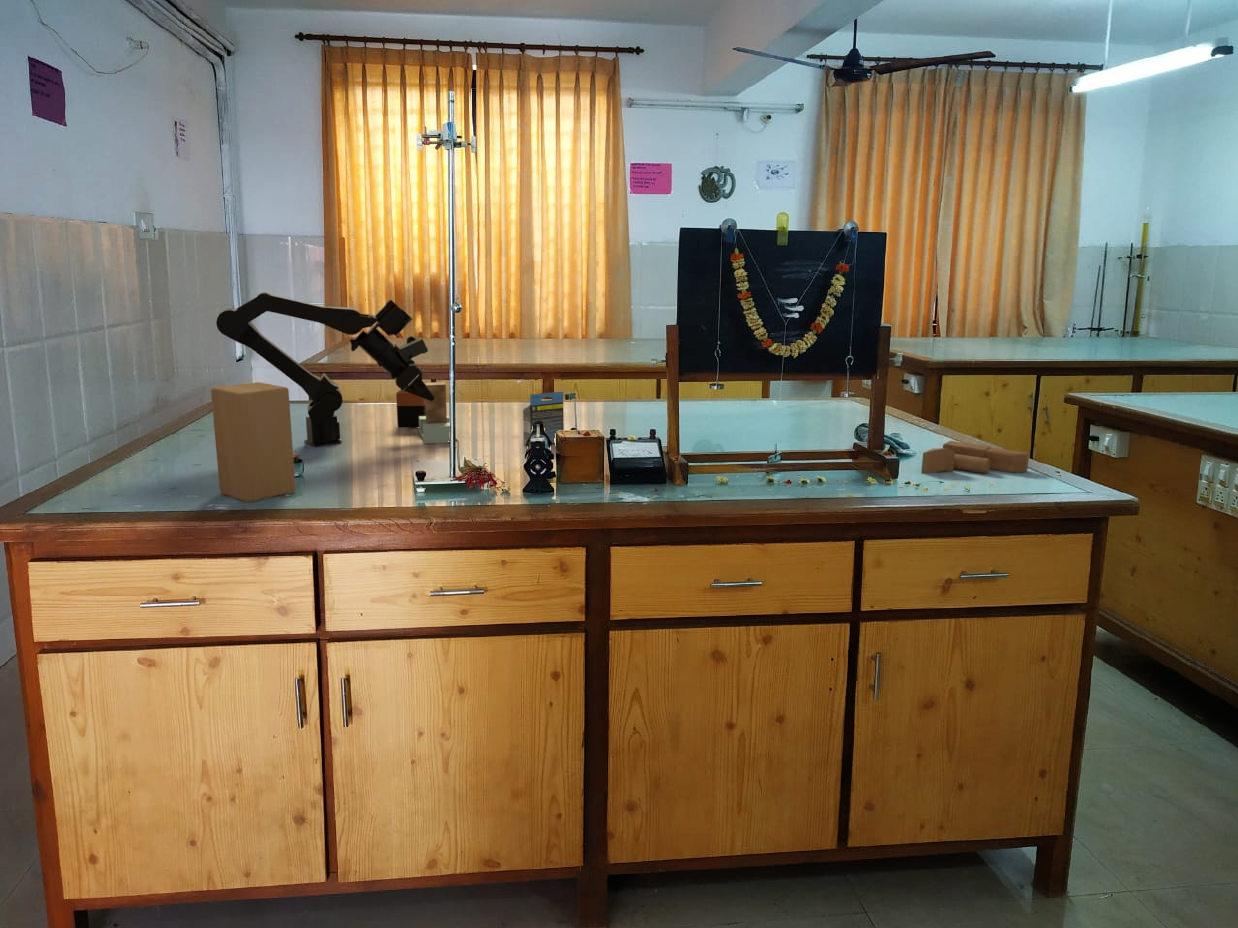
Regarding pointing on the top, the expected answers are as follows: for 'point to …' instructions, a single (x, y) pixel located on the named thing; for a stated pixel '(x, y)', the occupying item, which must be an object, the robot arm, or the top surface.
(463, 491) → the top surface
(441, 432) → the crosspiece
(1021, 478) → the top surface
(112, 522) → the top surface
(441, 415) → the slat
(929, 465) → the wooden block set
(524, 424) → the label tape cartridge
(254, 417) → the wooden block
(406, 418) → the battery
